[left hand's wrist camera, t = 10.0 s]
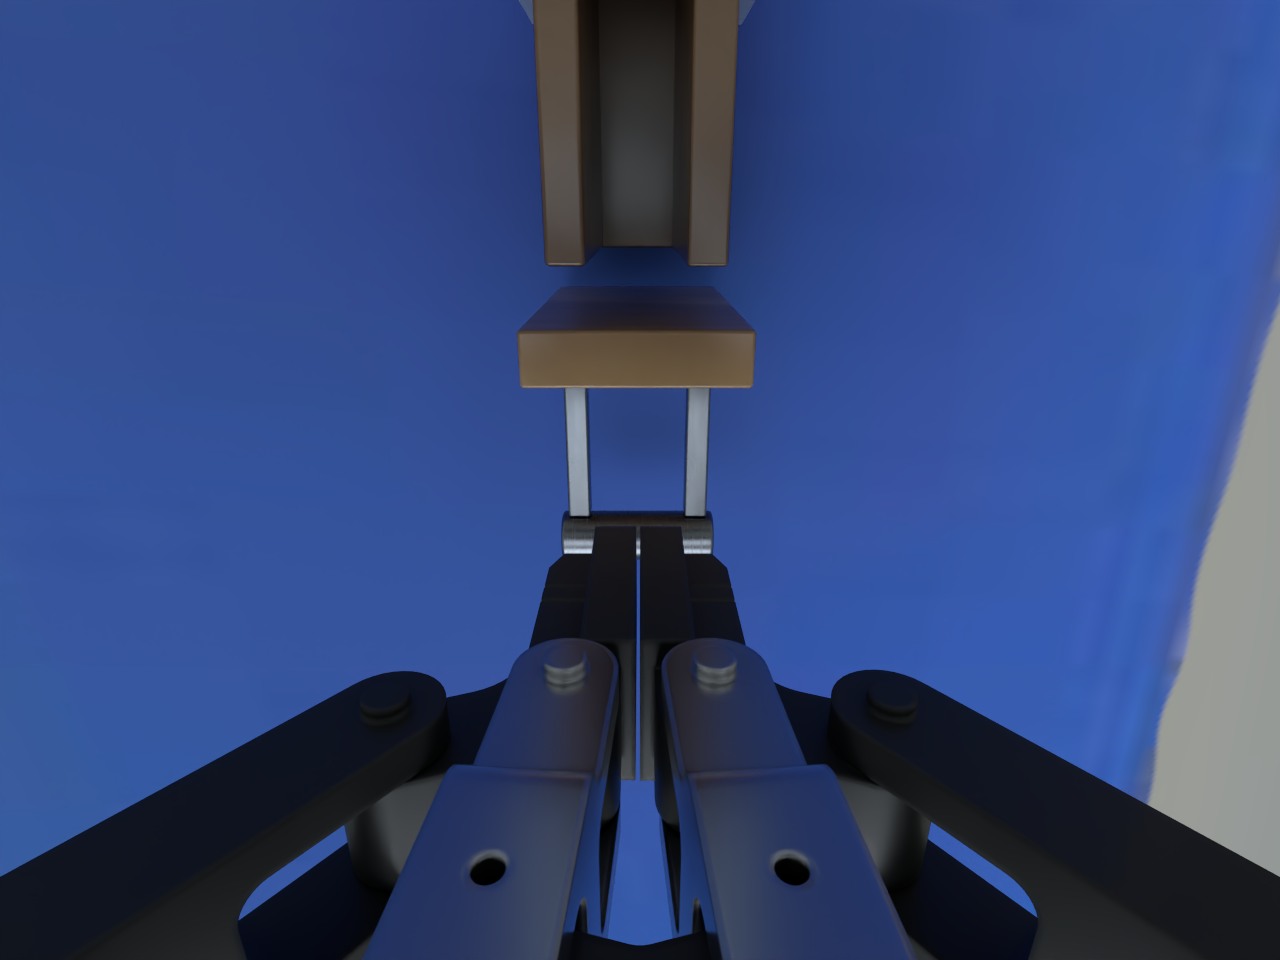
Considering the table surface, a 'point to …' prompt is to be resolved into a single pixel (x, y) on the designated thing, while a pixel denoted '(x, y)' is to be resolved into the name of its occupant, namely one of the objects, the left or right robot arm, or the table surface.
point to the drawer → (636, 226)
